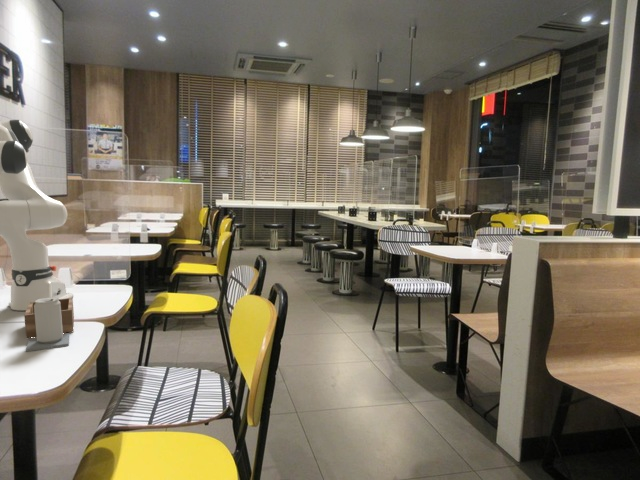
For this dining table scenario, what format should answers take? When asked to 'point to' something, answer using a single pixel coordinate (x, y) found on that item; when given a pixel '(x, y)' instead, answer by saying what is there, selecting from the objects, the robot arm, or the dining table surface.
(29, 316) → the box
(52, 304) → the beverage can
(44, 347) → the mat
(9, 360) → the dining table surface
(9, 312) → the dining table surface
